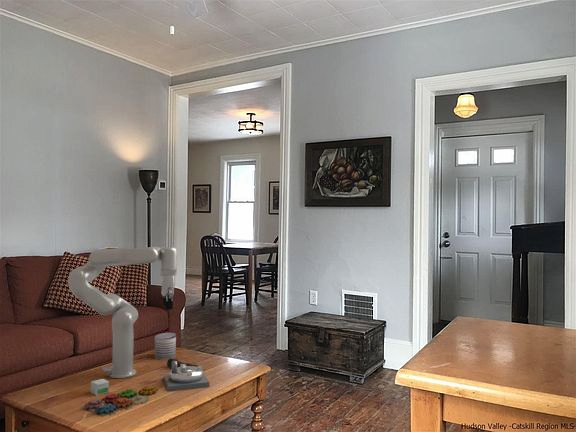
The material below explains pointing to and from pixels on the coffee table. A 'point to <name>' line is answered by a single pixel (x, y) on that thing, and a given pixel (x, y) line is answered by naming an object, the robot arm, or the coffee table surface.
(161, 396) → the coffee table surface
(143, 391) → the gear puzzle
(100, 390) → the small box
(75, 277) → the robot arm
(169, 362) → the hand tool
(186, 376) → the silver disc
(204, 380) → the gray plinth
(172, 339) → the can
